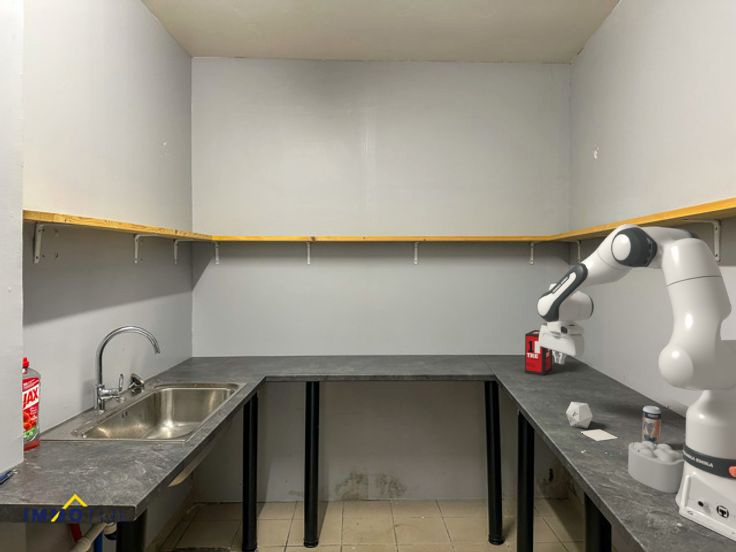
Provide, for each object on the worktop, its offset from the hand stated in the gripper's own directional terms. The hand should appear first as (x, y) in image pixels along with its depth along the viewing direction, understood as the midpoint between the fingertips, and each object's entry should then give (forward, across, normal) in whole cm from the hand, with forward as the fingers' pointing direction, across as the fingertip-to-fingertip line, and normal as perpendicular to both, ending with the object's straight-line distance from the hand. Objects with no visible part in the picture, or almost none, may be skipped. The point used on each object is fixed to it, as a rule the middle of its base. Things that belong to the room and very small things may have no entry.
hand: (559, 363), depth 161 cm
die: (+20, +10, 0) cm, 22 cm away
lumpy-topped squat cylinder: (+19, +46, -8) cm, 51 cm away
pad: (+19, +19, 0) cm, 27 cm away
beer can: (+19, +30, +9) cm, 37 cm away
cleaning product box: (+20, -58, +35) cm, 70 cm away
